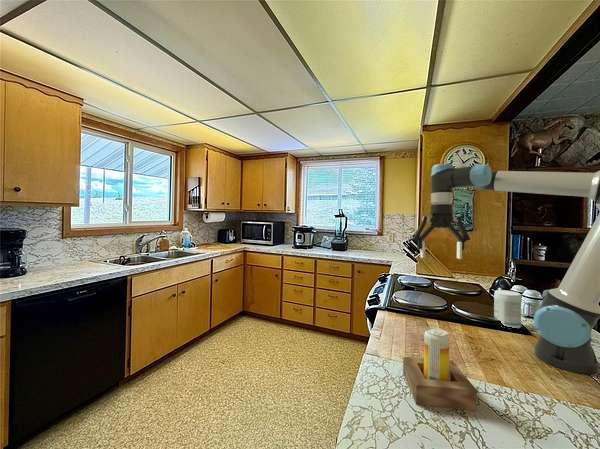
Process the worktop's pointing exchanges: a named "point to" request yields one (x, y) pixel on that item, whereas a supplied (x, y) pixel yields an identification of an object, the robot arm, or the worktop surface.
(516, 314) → the supplement tub
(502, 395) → the worktop surface
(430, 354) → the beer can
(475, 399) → the walnut socket holder
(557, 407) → the worktop surface
